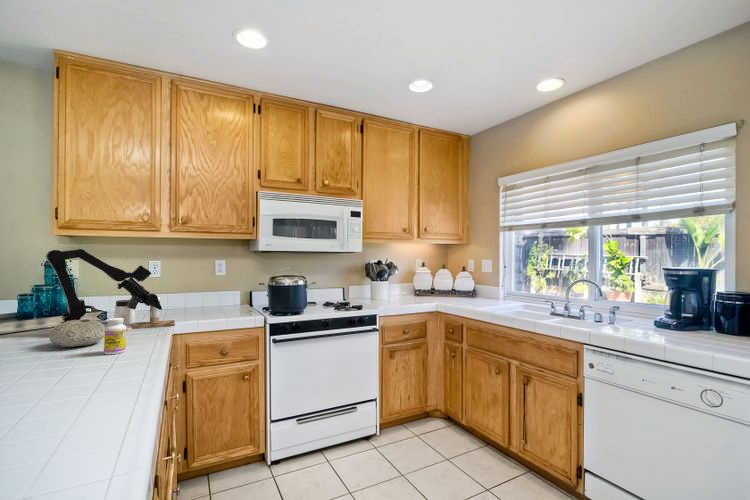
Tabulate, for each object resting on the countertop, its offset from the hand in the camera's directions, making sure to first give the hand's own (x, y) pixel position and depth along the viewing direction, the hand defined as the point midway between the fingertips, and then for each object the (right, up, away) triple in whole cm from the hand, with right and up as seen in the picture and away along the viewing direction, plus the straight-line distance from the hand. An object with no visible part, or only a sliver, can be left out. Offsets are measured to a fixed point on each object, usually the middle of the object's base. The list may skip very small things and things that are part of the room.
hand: (158, 308), depth 188 cm
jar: (-20, -9, +3) cm, 22 cm away
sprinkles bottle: (-1, -8, -1) cm, 8 cm away
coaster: (-10, -8, -16) cm, 20 cm away
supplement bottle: (+15, -8, -52) cm, 55 cm away
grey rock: (-7, -8, -43) cm, 44 cm away
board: (-1, -9, -1) cm, 9 cm away
